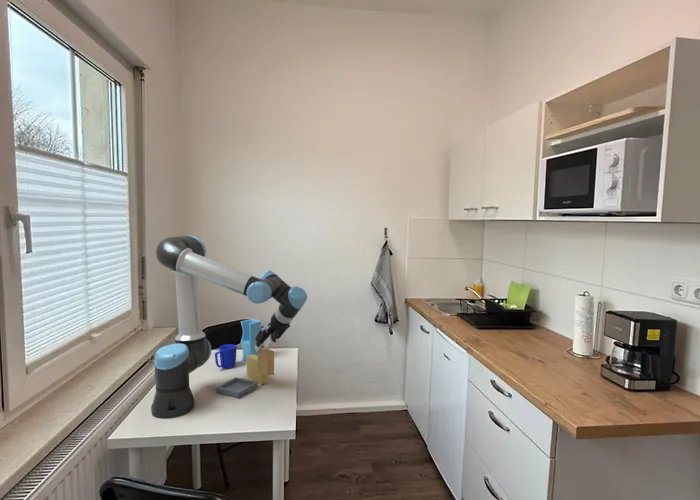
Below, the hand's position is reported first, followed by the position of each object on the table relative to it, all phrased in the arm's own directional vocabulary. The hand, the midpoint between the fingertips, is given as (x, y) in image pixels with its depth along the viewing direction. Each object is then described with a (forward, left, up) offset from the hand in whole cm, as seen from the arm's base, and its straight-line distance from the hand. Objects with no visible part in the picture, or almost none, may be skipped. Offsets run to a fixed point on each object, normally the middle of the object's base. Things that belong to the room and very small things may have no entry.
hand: (260, 348), depth 179 cm
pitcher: (+24, +24, -16) cm, 38 cm away
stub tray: (-9, +5, -16) cm, 19 cm away
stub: (-1, -4, -10) cm, 11 cm away
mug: (+9, +28, -16) cm, 34 cm away
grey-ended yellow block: (+3, +5, -16) cm, 17 cm away
